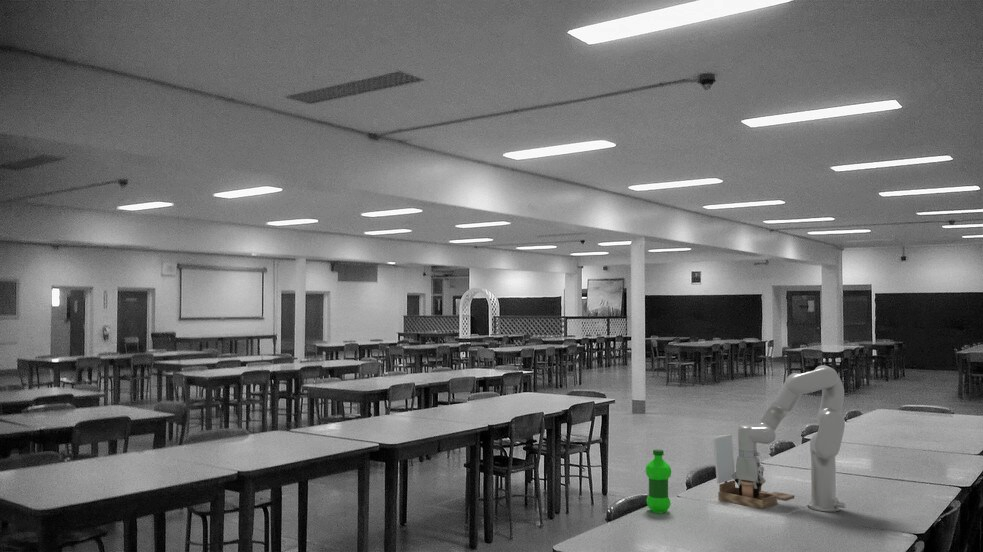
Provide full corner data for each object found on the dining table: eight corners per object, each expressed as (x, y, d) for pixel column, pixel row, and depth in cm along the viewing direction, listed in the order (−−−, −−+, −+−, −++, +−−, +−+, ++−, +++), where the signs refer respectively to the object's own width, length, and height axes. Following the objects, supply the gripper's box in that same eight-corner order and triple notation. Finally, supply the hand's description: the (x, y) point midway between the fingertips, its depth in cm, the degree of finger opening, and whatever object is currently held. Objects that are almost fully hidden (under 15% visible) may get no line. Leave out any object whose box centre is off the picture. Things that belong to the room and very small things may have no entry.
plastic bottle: (669, 508, 312) (668, 448, 313) (672, 515, 302) (672, 453, 303) (644, 507, 313) (644, 447, 314) (647, 514, 303) (647, 452, 304)
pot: (760, 499, 322) (759, 480, 323) (752, 502, 318) (752, 483, 318) (745, 497, 327) (745, 478, 328) (737, 499, 323) (737, 481, 323)
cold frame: (777, 504, 320) (776, 457, 321) (761, 510, 310) (761, 461, 311) (729, 494, 336) (729, 450, 337) (713, 500, 327) (713, 454, 328)
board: (794, 498, 330) (794, 495, 330) (785, 502, 324) (785, 498, 324) (774, 494, 337) (774, 491, 337) (765, 498, 331) (765, 494, 331)
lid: (731, 434, 337) (729, 434, 338) (714, 437, 327) (713, 437, 328) (735, 478, 335) (733, 478, 336) (718, 483, 325) (716, 483, 325)
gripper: (770, 455, 320) (772, 498, 319) (733, 450, 332) (734, 491, 331) (762, 457, 315) (763, 501, 314) (725, 452, 327) (726, 494, 326)
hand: (749, 495), depth 323 cm, fingers closed on pot, 5 cm apart
